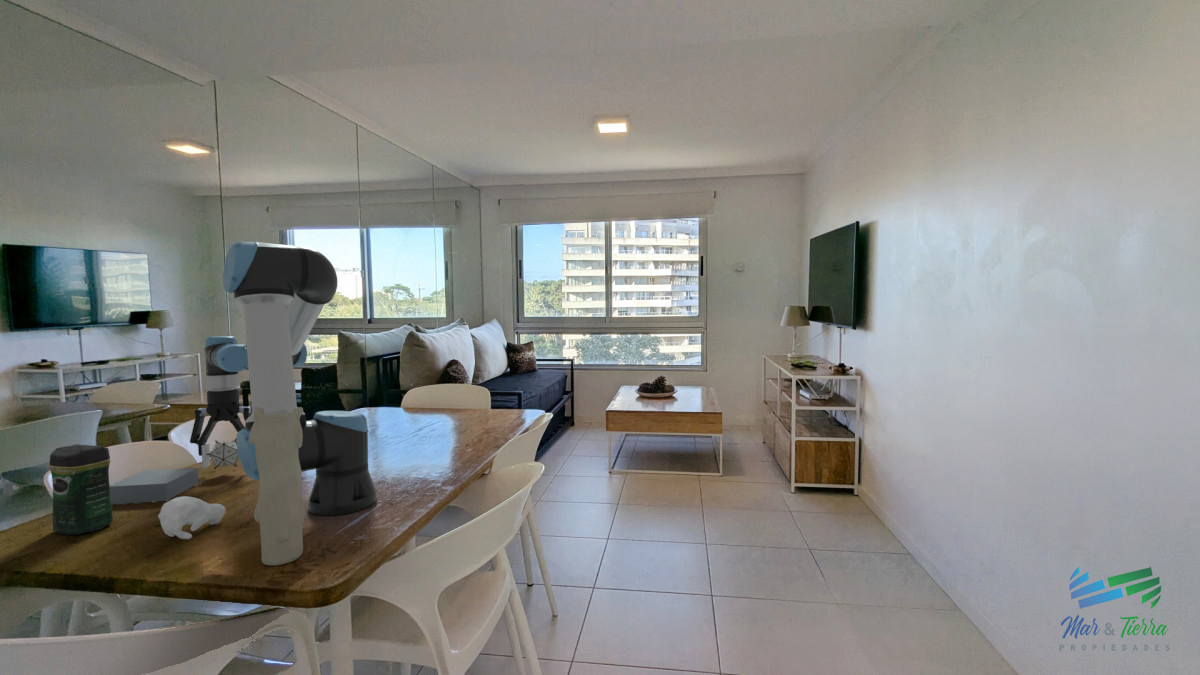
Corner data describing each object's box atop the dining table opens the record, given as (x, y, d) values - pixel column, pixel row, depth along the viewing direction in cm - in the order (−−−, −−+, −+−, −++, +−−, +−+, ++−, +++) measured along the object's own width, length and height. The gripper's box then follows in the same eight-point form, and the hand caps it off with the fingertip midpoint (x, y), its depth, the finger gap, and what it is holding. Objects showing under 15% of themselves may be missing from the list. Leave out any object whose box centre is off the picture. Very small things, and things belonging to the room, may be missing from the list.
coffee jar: (121, 523, 113) (117, 442, 113) (78, 538, 106) (73, 451, 105) (89, 519, 116) (85, 439, 115) (44, 533, 108) (40, 448, 107)
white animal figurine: (155, 499, 105) (214, 485, 116) (152, 540, 104) (212, 523, 116) (176, 502, 103) (234, 488, 114) (173, 545, 102) (232, 526, 114)
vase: (245, 568, 94) (240, 409, 92) (274, 546, 102) (270, 401, 101) (291, 568, 94) (287, 409, 92) (317, 547, 102) (313, 401, 101)
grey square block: (167, 502, 126) (166, 483, 126) (107, 506, 124) (106, 486, 124) (198, 485, 139) (197, 467, 139) (144, 488, 137) (144, 470, 137)
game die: (229, 480, 146) (224, 458, 140) (202, 470, 146) (196, 448, 140) (253, 458, 153) (249, 436, 148) (227, 448, 153) (222, 426, 148)
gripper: (270, 385, 152) (272, 458, 153) (187, 388, 147) (190, 464, 148) (259, 389, 145) (262, 465, 146) (171, 392, 140) (174, 471, 141)
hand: (225, 465), depth 147 cm, fingers closed on game die, 9 cm apart
